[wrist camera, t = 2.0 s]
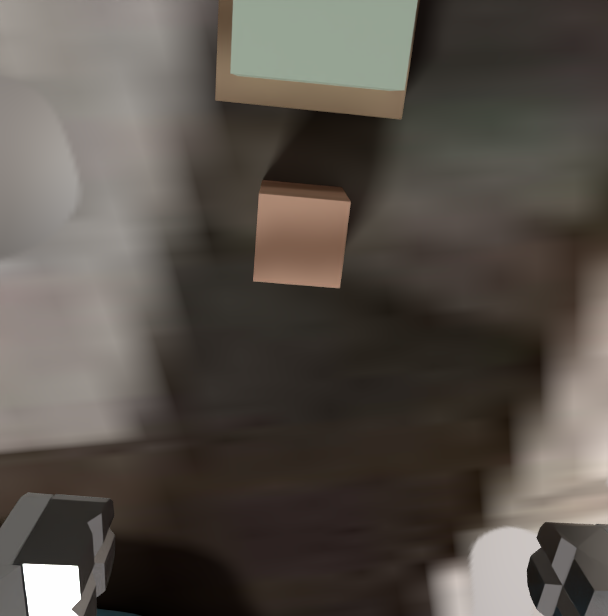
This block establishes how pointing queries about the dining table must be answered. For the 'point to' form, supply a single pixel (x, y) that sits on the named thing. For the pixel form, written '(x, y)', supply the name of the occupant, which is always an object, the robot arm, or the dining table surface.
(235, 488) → the dining table surface
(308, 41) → the sage block
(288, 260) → the terracotta cube
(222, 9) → the walnut block
